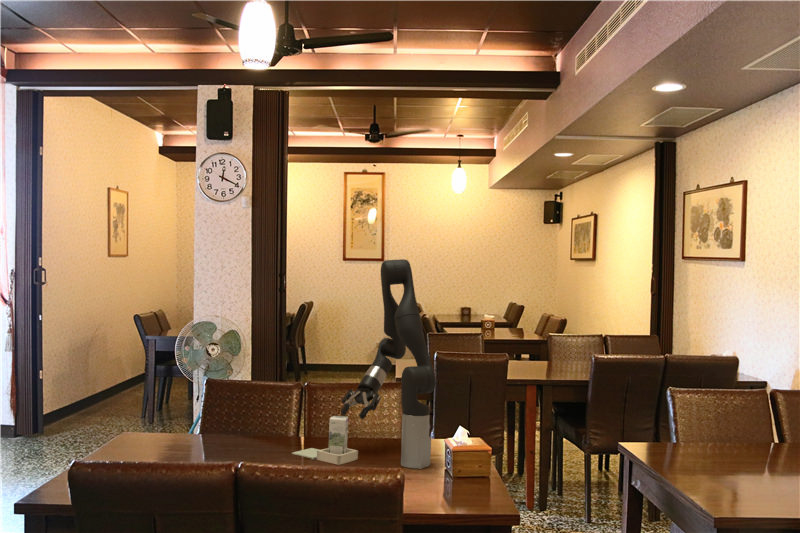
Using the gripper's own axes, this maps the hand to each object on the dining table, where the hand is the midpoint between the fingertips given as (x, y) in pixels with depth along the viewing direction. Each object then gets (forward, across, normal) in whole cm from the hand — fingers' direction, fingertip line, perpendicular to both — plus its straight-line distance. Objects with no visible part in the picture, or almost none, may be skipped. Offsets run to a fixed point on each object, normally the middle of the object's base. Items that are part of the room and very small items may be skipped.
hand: (351, 416), depth 218 cm
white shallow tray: (+15, -6, +5) cm, 17 cm away
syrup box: (+15, 0, +5) cm, 16 cm away
